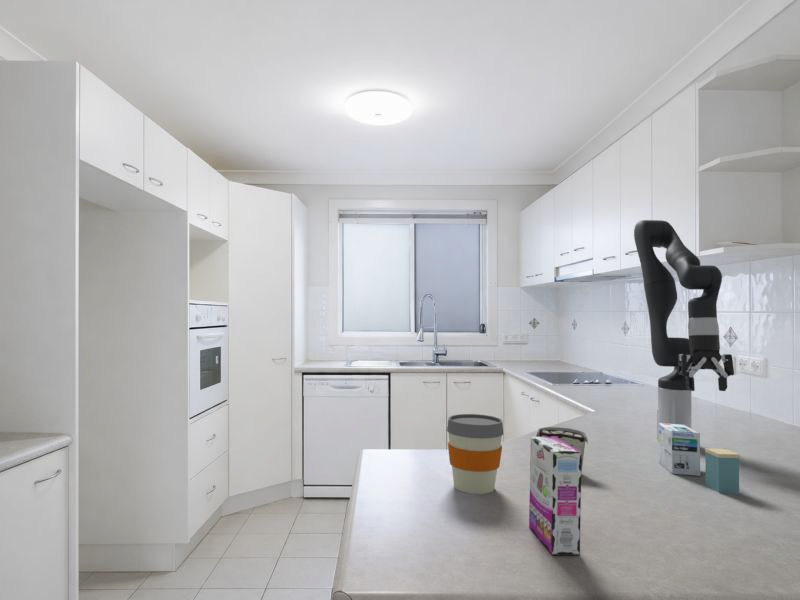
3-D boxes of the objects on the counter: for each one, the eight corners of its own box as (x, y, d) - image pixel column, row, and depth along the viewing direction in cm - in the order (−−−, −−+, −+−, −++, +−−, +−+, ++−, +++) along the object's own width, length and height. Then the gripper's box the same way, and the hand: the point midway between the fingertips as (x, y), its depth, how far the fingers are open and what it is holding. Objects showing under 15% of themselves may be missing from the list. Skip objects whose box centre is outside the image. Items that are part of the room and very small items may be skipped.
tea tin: (704, 485, 113) (704, 448, 114) (725, 486, 114) (725, 448, 114) (718, 493, 109) (718, 454, 109) (739, 493, 109) (739, 454, 109)
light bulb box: (701, 476, 120) (701, 432, 121) (671, 474, 122) (671, 430, 122) (685, 464, 131) (685, 423, 131) (657, 462, 132) (657, 422, 132)
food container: (589, 469, 124) (589, 430, 124) (587, 476, 118) (588, 435, 118) (539, 462, 129) (540, 424, 129) (535, 469, 123) (536, 429, 124)
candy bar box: (582, 556, 78) (583, 452, 78) (552, 556, 77) (553, 452, 78) (554, 526, 89) (555, 435, 89) (527, 526, 88) (529, 435, 89)
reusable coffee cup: (467, 500, 100) (468, 427, 101) (435, 482, 111) (436, 416, 112) (514, 492, 106) (515, 422, 107) (479, 475, 117) (480, 412, 118)
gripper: (721, 334, 144) (724, 389, 142) (671, 334, 145) (674, 389, 143) (737, 333, 136) (741, 392, 135) (684, 333, 137) (688, 391, 136)
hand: (706, 390), depth 139 cm, fingers open, 8 cm apart
